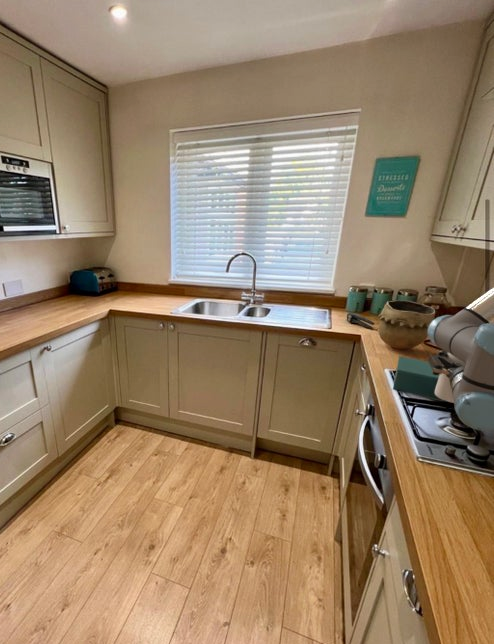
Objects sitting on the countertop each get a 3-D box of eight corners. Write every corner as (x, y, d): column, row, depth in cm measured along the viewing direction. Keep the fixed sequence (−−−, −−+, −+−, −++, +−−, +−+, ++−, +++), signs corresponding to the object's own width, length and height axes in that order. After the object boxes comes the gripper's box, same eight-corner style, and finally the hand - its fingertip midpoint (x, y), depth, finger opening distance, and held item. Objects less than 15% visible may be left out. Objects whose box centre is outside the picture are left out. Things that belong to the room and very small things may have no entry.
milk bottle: (439, 401, 89) (462, 330, 82) (429, 389, 95) (450, 322, 88) (474, 406, 86) (501, 334, 79) (461, 394, 93) (485, 325, 86)
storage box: (444, 384, 112) (450, 365, 110) (447, 401, 101) (454, 381, 98) (394, 374, 119) (399, 356, 117) (391, 389, 108) (397, 369, 106)
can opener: (342, 321, 189) (344, 311, 187) (352, 320, 191) (354, 311, 189) (367, 330, 173) (369, 319, 171) (377, 329, 175) (379, 318, 173)
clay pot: (439, 354, 140) (453, 308, 133) (397, 357, 135) (410, 310, 128) (399, 339, 159) (410, 298, 152) (361, 341, 154) (370, 299, 147)
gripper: (412, 388, 80) (413, 360, 97) (529, 414, 69) (506, 377, 87) (421, 359, 77) (420, 335, 95) (543, 382, 66) (516, 350, 84)
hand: (461, 355), depth 91 cm, fingers closed on milk bottle, 8 cm apart
